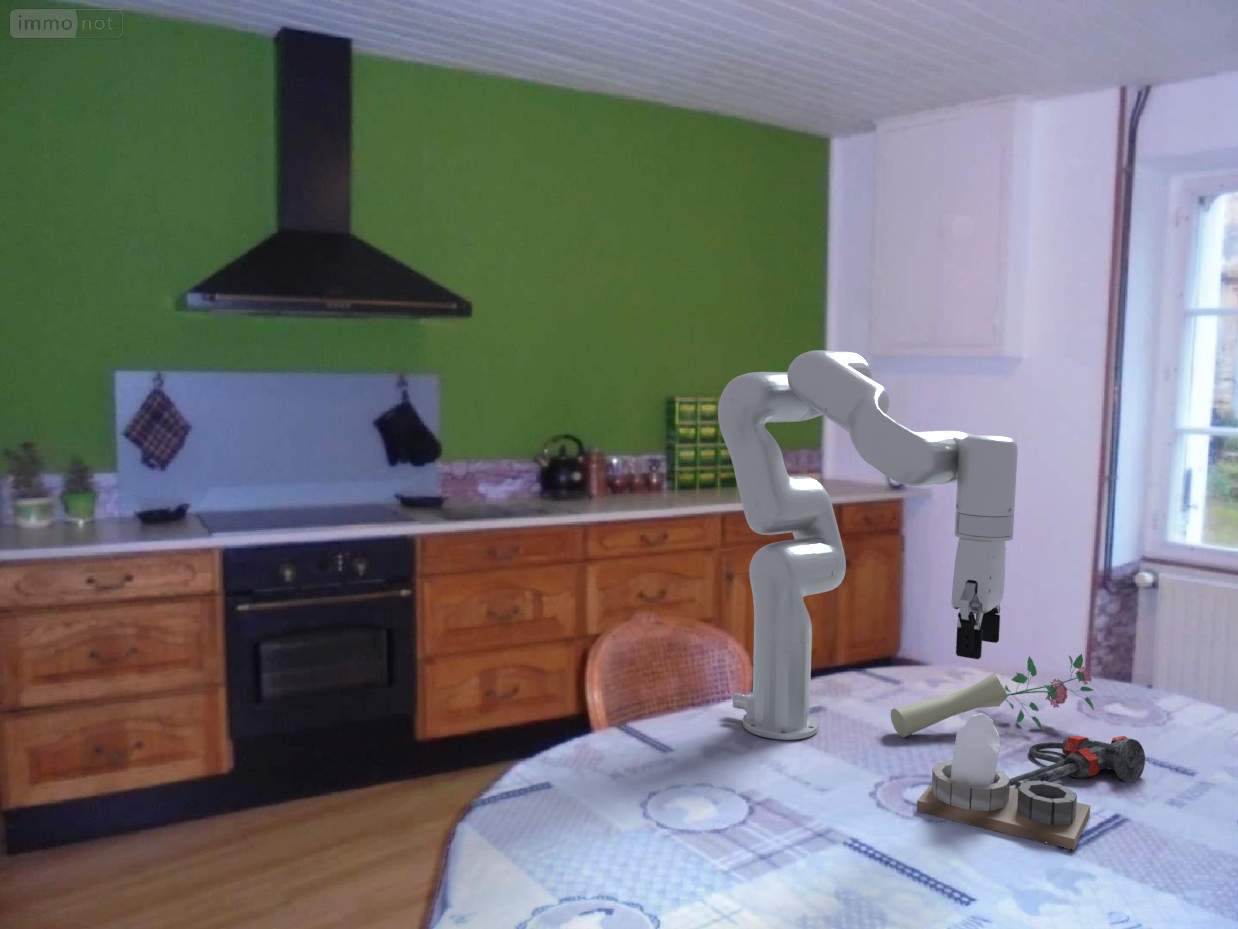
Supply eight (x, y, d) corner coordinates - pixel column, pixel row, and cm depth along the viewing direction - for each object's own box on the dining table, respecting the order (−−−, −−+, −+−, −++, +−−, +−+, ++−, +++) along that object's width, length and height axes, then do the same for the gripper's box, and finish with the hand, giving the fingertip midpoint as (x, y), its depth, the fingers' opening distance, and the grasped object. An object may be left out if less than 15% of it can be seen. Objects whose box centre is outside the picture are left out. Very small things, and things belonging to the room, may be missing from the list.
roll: (991, 703, 143) (1013, 720, 137) (979, 782, 145) (1001, 802, 140) (951, 703, 142) (972, 720, 136) (941, 783, 144) (961, 803, 138)
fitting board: (916, 811, 140) (918, 779, 139) (941, 781, 150) (943, 752, 149) (1073, 850, 129) (1075, 816, 128) (1089, 816, 139) (1091, 784, 138)
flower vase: (897, 771, 172) (1070, 710, 181) (933, 778, 161) (1116, 712, 169) (876, 702, 174) (1048, 645, 182) (909, 704, 162) (1091, 643, 171)
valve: (1078, 753, 167) (1164, 773, 154) (965, 790, 155) (1048, 815, 141) (1074, 715, 167) (1159, 731, 154) (960, 749, 155) (1043, 769, 142)
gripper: (972, 516, 148) (966, 631, 150) (937, 531, 133) (931, 659, 135) (1026, 521, 144) (1020, 639, 145) (997, 538, 129) (990, 669, 131)
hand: (977, 648), depth 140 cm, fingers open, 9 cm apart
